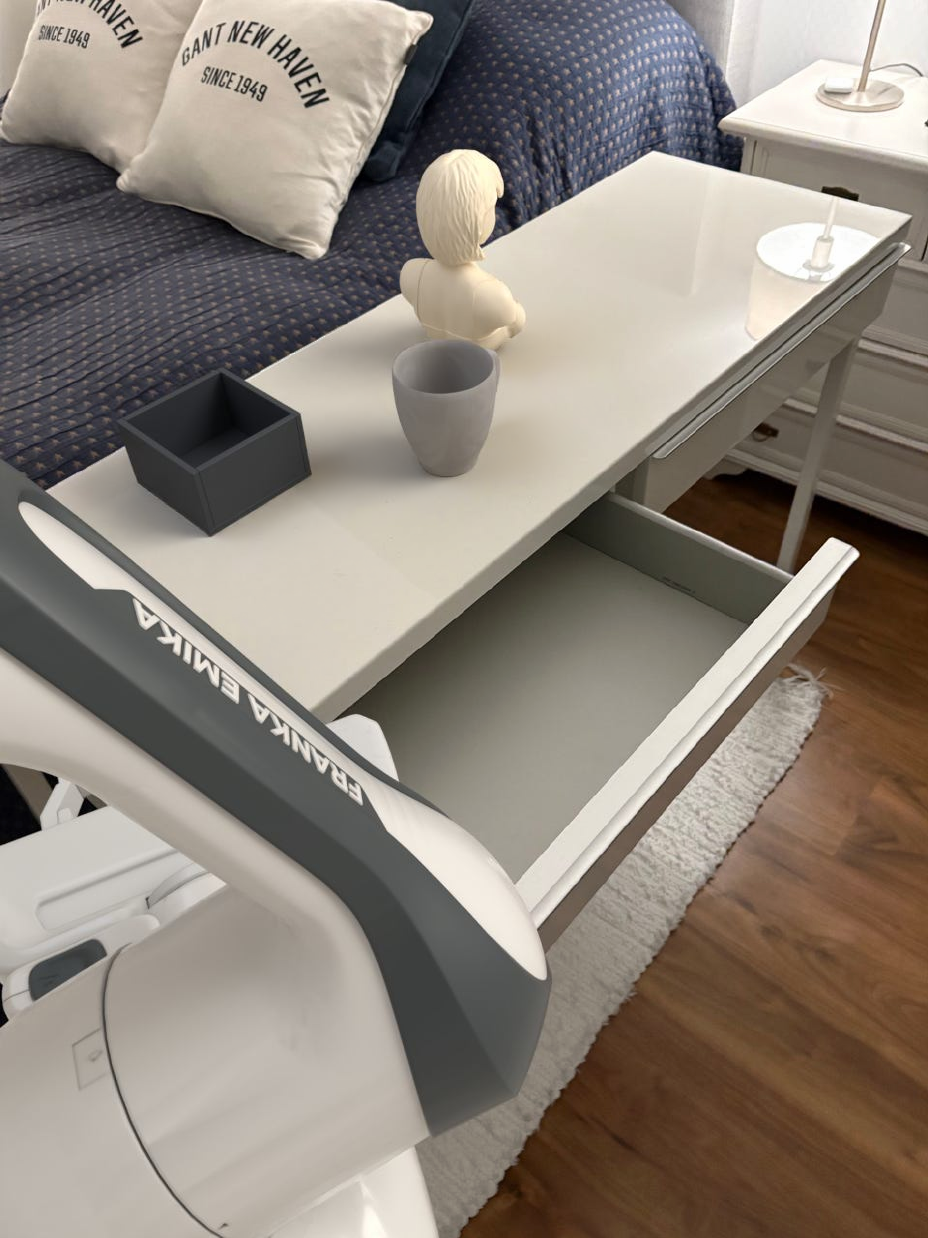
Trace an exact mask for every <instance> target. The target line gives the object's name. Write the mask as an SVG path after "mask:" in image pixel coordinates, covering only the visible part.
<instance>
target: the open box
mask: <svg viewBox="0 0 928 1238" xmlns="http://www.w3.org/2000/svg"><path fill="white" fill-rule="evenodd" d="M115 423H116V426H117V429H118V432H119V434H120V436H121V440H122V443H123V445H124V449H125V452H126V454H127V457H128V460H129V462H130V465H131V469H132V471H133V475H134V477H135V480H136V482H137V483H138V484H140V486H141V487H143V488H145V490H148V491H149V492H150V493H151V494H153V495H154V496H155V497H157V498H158V499H159V500H161V501H162V502H164V503H165V504H166V505H168V506H169V507H170V508H172V509H173V510H174V511H176V512H177V513H178V514H180V515H181V516H182V517H184V518H185V519H186V520H188V521H189V522H191V523H192V524H193V525H194V526H196V528H198V529H200V530H202V531H203V532H204V533H205V534H206V535H208V536H209V537H213V536H214V535H216V534H218V533H219V532H221V531H222V530H224V529H226V528H227V527H229V526H230V525H232V524H234V523H235V522H237V521H239V520H241V519H242V518H244V517H245V516H247V515H248V514H250V513H252V512H253V511H255V510H257V509H258V508H260V507H262V506H263V505H265V504H266V503H268V502H270V501H272V500H273V499H275V498H276V497H278V496H279V495H281V494H283V493H284V492H286V491H288V490H289V489H291V488H292V487H294V486H296V485H297V484H299V483H301V482H303V481H304V480H306V479H307V478H309V477H311V476H312V474H313V473H312V469H311V463H310V458H309V451H308V446H307V440H306V435H305V431H304V425H303V420H302V414H301V412H299V411H298V410H295V409H294V408H292V407H291V406H289V405H287V404H285V403H283V402H282V401H280V400H278V399H277V398H275V397H274V396H272V395H271V394H269V393H267V392H265V391H264V390H262V389H260V388H258V387H256V386H255V385H253V384H251V383H250V382H248V381H246V380H245V379H243V378H241V377H239V376H238V375H236V374H235V373H233V372H231V371H230V370H228V369H226V368H224V367H223V366H221V367H219V368H217V369H215V370H213V371H211V372H209V373H207V374H205V375H203V376H201V377H199V378H197V379H195V380H193V381H191V382H190V383H187V384H185V385H184V386H182V387H180V388H178V389H176V390H174V391H172V392H170V393H168V394H166V395H164V396H162V397H159V398H158V399H156V400H155V401H152V402H150V403H149V404H146V405H145V406H142V407H141V408H139V409H136V410H135V411H133V412H131V413H129V414H127V415H125V416H123V417H122V418H119V419H117V420H115Z"/></svg>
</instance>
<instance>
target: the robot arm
mask: <svg viewBox="0 0 928 1238" xmlns="http://www.w3.org/2000/svg"><path fill="white" fill-rule="evenodd" d="M0 764H3V765H13V766H17V767H21V768H26V769H30V770H35V771H39V772H42V773H46V774H48V775H52V776H54V777H57V780H58V783H57V784H55V786H54V788H53V790H52V792H51V794H50V796H49V798H48V800H47V802H46V804H45V806H44V808H43V809H42V811H41V813H40V815H39V820H40V821H39V822H40V827H41V830H39V831H36V832H33V833H31V834H28V835H26V836H23V837H20V838H17V839H15V840H12V841H9V842H7V843H5V844H1V845H0V984H1V985H2V990H1V1001H2V1008H3V1012H4V1013H5V1015H6V1017H7V1019H8V1021H7V1022H6V1023H4V1025H2V1026H1V1027H0V1238H440V1235H439V1229H438V1226H437V1220H436V1217H435V1213H434V1209H433V1205H432V1201H431V1197H430V1194H429V1190H428V1187H427V1183H426V1180H425V1179H426V1178H425V1176H424V1172H423V1169H422V1165H421V1163H420V1160H419V1159H420V1158H419V1155H418V1152H417V1149H416V1145H418V1144H419V1143H421V1142H422V1141H424V1140H426V1139H427V1138H429V1137H430V1138H431V1139H432V1140H436V1138H439V1137H441V1136H443V1135H445V1134H446V1133H448V1132H450V1131H452V1130H455V1129H456V1128H458V1127H461V1126H462V1125H464V1124H465V1123H468V1122H470V1121H472V1120H473V1119H476V1118H478V1117H479V1116H482V1115H483V1114H486V1113H487V1112H489V1111H491V1110H493V1109H495V1108H497V1107H499V1106H501V1105H503V1104H505V1103H507V1102H509V1101H511V1100H513V1099H515V1098H518V1096H519V1094H520V1091H521V1089H522V1086H523V1084H524V1081H525V1080H526V1077H527V1075H528V1072H529V1070H530V1067H531V1065H532V1062H533V1058H534V1056H535V1053H536V1050H537V1047H538V1044H539V1041H540V1038H541V1034H542V1031H543V1028H544V1024H545V1020H546V1016H547V1012H548V1007H549V1002H550V997H551V992H552V987H553V974H552V969H551V967H550V963H549V961H548V958H547V956H546V953H545V950H544V947H543V945H542V941H541V937H540V935H539V932H538V929H537V927H536V924H535V921H534V919H533V917H532V914H531V913H530V910H529V908H528V906H527V905H526V902H525V901H524V899H523V897H522V896H521V893H520V891H519V890H518V889H517V887H516V886H515V884H514V882H513V881H512V879H511V878H510V876H509V875H508V874H507V872H506V870H505V869H504V868H503V866H502V865H501V864H500V863H499V862H498V861H497V859H496V858H495V857H494V856H493V855H492V853H491V852H490V851H489V850H488V849H487V848H486V846H484V845H483V844H482V843H481V842H480V841H479V840H478V839H476V837H475V836H473V835H472V834H471V833H470V832H468V831H467V830H466V829H464V828H463V827H462V826H461V825H459V824H458V823H456V822H455V821H454V820H452V818H451V817H450V816H448V814H446V813H445V812H444V811H443V810H441V808H439V807H438V806H436V805H435V804H434V803H433V802H431V801H430V800H428V799H427V798H425V797H424V796H422V795H421V794H419V793H418V792H416V791H415V790H413V789H412V788H410V787H408V786H406V785H405V784H403V783H401V782H400V780H399V776H398V771H397V768H396V765H395V762H394V759H393V756H392V752H391V749H390V748H389V745H388V741H387V739H386V737H385V734H384V732H383V730H382V728H381V726H380V724H379V723H378V722H377V721H376V720H373V719H371V718H369V717H366V716H365V715H361V714H358V713H354V714H350V715H347V716H345V717H342V718H339V719H336V720H334V721H330V722H328V723H323V722H322V721H321V720H320V719H319V718H318V717H317V716H315V715H314V714H313V713H312V712H311V711H309V710H308V709H307V708H306V707H305V706H304V705H303V704H302V703H301V702H299V701H298V699H296V698H295V697H293V696H292V695H291V694H290V693H289V692H288V691H286V690H285V689H284V688H283V687H282V686H281V685H280V684H278V683H277V682H276V681H275V680H274V679H272V677H270V676H269V675H268V674H267V673H265V672H264V671H263V670H262V669H261V668H260V667H259V666H257V665H256V664H255V663H254V662H253V661H252V660H251V659H250V658H248V657H247V656H246V655H244V654H243V652H241V651H240V650H239V649H238V648H236V647H235V646H234V645H233V644H232V643H230V641H228V640H227V638H225V637H224V636H223V635H221V634H220V633H219V632H218V631H217V630H216V629H214V628H213V627H212V626H211V625H210V624H209V623H207V622H206V621H205V620H204V619H202V618H201V617H200V616H199V615H197V613H195V612H194V611H193V610H192V609H191V608H189V607H188V606H187V605H186V604H185V603H183V601H181V600H180V599H179V598H178V597H177V596H176V595H174V594H173V593H172V592H171V591H170V590H169V589H167V588H166V587H165V586H164V585H163V584H161V583H160V582H159V581H158V580H156V578H154V577H153V576H152V575H151V574H149V572H147V571H146V570H145V569H144V568H142V567H141V566H140V565H139V564H138V563H136V562H135V561H134V560H133V559H131V557H130V556H128V555H127V554H126V553H124V552H123V551H122V550H120V548H118V547H117V546H116V545H115V544H113V543H112V542H110V540H108V539H107V538H106V537H104V536H103V534H101V533H100V532H98V531H97V530H95V528H93V527H92V526H91V525H89V524H88V522H86V521H85V520H83V518H81V517H79V516H78V515H77V514H76V513H74V512H73V511H72V510H71V509H70V508H68V507H67V506H66V505H64V504H63V503H62V502H60V501H59V500H58V499H57V498H55V497H54V496H52V495H51V494H50V493H49V492H47V491H46V490H45V489H44V488H43V487H41V486H40V485H38V484H37V483H35V482H34V481H33V480H31V478H29V477H27V476H26V475H25V474H24V473H22V472H21V471H20V470H18V469H17V468H15V467H14V466H13V465H11V464H9V463H8V462H7V461H5V460H4V459H2V458H0ZM91 796H95V797H97V798H98V799H100V800H101V801H103V802H104V803H106V804H107V805H106V806H103V807H101V808H98V809H95V810H93V811H90V812H87V813H85V814H82V815H79V813H80V810H81V808H82V805H83V802H84V800H85V799H86V798H89V797H91Z"/></svg>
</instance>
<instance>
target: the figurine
mask: <svg viewBox="0 0 928 1238" xmlns="http://www.w3.org/2000/svg"><path fill="white" fill-rule="evenodd" d="M504 186H505V185H504V180H503V177H502V174H501V171H500V168H499V166H498V165H497V163H495V162H494V161H493V160H491V159H490V158H488V157H487V156H486V155H484V154H483V153H482V152H479V151H477V150H475V149H460V148H459V149H452V150H451V151H450V152H447V153H444V154H441V155H439V156H438V157H437V158H436V159H435V160H434V161H433V162H432V163H430V164H429V165H428V167H427V168H426V169H425V171H424V173H423V174H422V176H421V178H420V182H419V186H418V188H417V190H416V196H415V210H416V211H415V212H416V220H417V226H418V230H419V234H420V236H421V239H422V242H423V244H424V247H425V248H426V250H427V251H428V252H429V254H430V256H431V257H432V258H433V259H432V258H427V257H426V258H422V257H418V258H417V257H416V258H410V259H409V260H407V261H406V262H405V263H404V265H403V266H402V268H401V271H400V274H399V288H400V291H401V295H402V297H403V298H404V299H405V301H407V302H408V303H409V304H410V305H411V307H413V311H414V314H415V316H416V318H417V320H418V321H419V324H420V325H421V327H422V328H423V329H424V332H425V334H426V336H427V338H428V341H431V340H439V339H455V340H462V341H467V342H470V343H473V344H476V345H478V346H480V347H482V348H484V347H485V348H489V349H492V350H494V351H496V350H498V349H499V348H500V347H501V346H502V345H504V344H505V343H506V342H507V341H508V340H509V339H513V338H514V337H516V336H517V335H519V334H520V333H521V332H522V331H523V329H524V327H525V325H526V322H527V321H526V320H527V315H526V311H525V309H524V307H523V306H522V305H521V303H520V302H518V300H514V297H513V294H512V292H511V291H510V289H509V288H508V286H507V284H506V283H504V282H503V281H502V280H501V279H497V278H496V277H495V276H493V275H492V274H490V273H489V272H486V271H485V270H483V269H482V268H480V267H479V266H478V264H477V262H482V261H485V260H486V255H485V253H484V251H483V249H482V247H481V246H480V245H483V244H485V243H486V241H487V240H488V239H489V237H490V236H491V234H492V233H493V231H494V229H495V224H496V203H497V200H498V199H500V198H502V197H503V196H504V192H505V191H504V190H505V187H504Z"/></svg>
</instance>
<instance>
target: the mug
mask: <svg viewBox="0 0 928 1238" xmlns="http://www.w3.org/2000/svg"><path fill="white" fill-rule="evenodd" d="M500 375H501V362H500V357H499V355H498V353H497V352H496V350H492V349H489V348H485V347H484V348H482V347H480V346H478V345H476V344H473V343H470V342H467V341H462V340H455V339H439V340H431V341H430V340H426V341H423V342H419V343H416V344H414V345H412V346H410V347H408V348H406V349H405V350H403V351H402V352H401V353H400V354H398V356H397V357H396V359H395V360H394V362H393V364H392V366H391V379H392V380H391V383H392V391H393V397H394V402H395V408H396V412H397V416H398V420H399V423H400V428H401V429H402V432H403V434H404V436H405V439H406V441H407V443H408V445H409V446H410V448H411V450H412V451H413V453H414V455H415V456H416V457H417V459H418V461H419V464H420V466H421V468H422V469H424V471H426V472H427V473H429V474H432V475H434V476H439V477H455V476H459V475H462V474H466V473H467V472H469V471H471V470H472V469H473V468H474V467H475V465H476V464H477V462H478V458H479V455H480V453H481V451H482V450H483V447H484V445H485V443H486V441H487V438H488V436H489V433H490V430H491V427H492V422H493V418H494V413H495V406H496V405H495V404H496V395H497V391H498V386H499V380H500Z"/></svg>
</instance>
